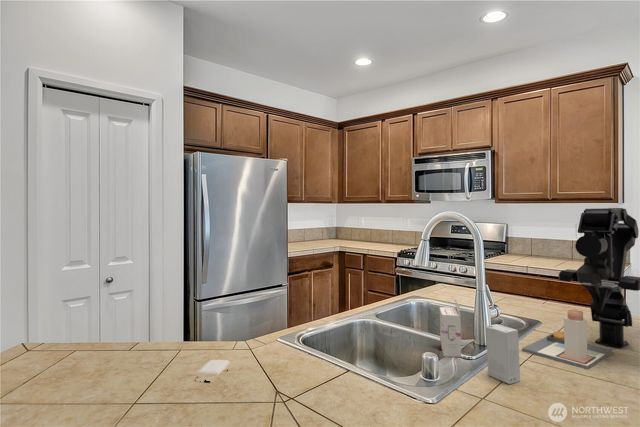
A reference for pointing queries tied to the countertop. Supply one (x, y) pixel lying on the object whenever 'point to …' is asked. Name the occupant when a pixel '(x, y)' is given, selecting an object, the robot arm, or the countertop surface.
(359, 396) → the countertop surface
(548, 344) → the grey flat board
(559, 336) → the button
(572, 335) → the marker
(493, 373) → the skincare box
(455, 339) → the ink cartridge box
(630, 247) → the robot arm
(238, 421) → the countertop surface
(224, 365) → the soap
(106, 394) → the countertop surface
